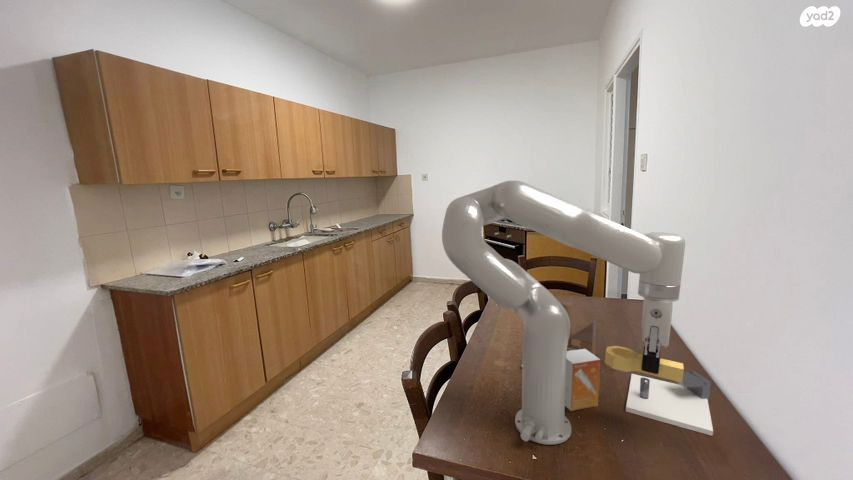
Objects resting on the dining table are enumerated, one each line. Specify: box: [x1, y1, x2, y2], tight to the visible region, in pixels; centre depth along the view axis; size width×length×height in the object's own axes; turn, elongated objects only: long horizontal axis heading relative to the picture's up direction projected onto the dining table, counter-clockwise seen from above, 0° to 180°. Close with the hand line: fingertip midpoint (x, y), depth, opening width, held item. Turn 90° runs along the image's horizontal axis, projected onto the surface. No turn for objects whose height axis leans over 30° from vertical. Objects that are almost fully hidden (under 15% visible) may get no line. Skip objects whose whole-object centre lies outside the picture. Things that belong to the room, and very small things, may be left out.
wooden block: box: [560, 301, 598, 356], centre depth 114 cm, size 4×11×18 cm, turn 50°
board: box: [625, 373, 714, 437], centre depth 92 cm, size 18×17×1 cm
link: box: [604, 345, 685, 382], centre depth 81 cm, size 15×6×3 cm, turn 57°
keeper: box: [675, 371, 712, 404], centre depth 93 cm, size 7×5×6 cm
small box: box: [565, 348, 601, 412], centre depth 92 cm, size 8×6×13 cm
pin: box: [639, 378, 650, 399], centre depth 92 cm, size 2×2×6 cm
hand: (650, 367), depth 80 cm, fingers closed on link, 3 cm apart
